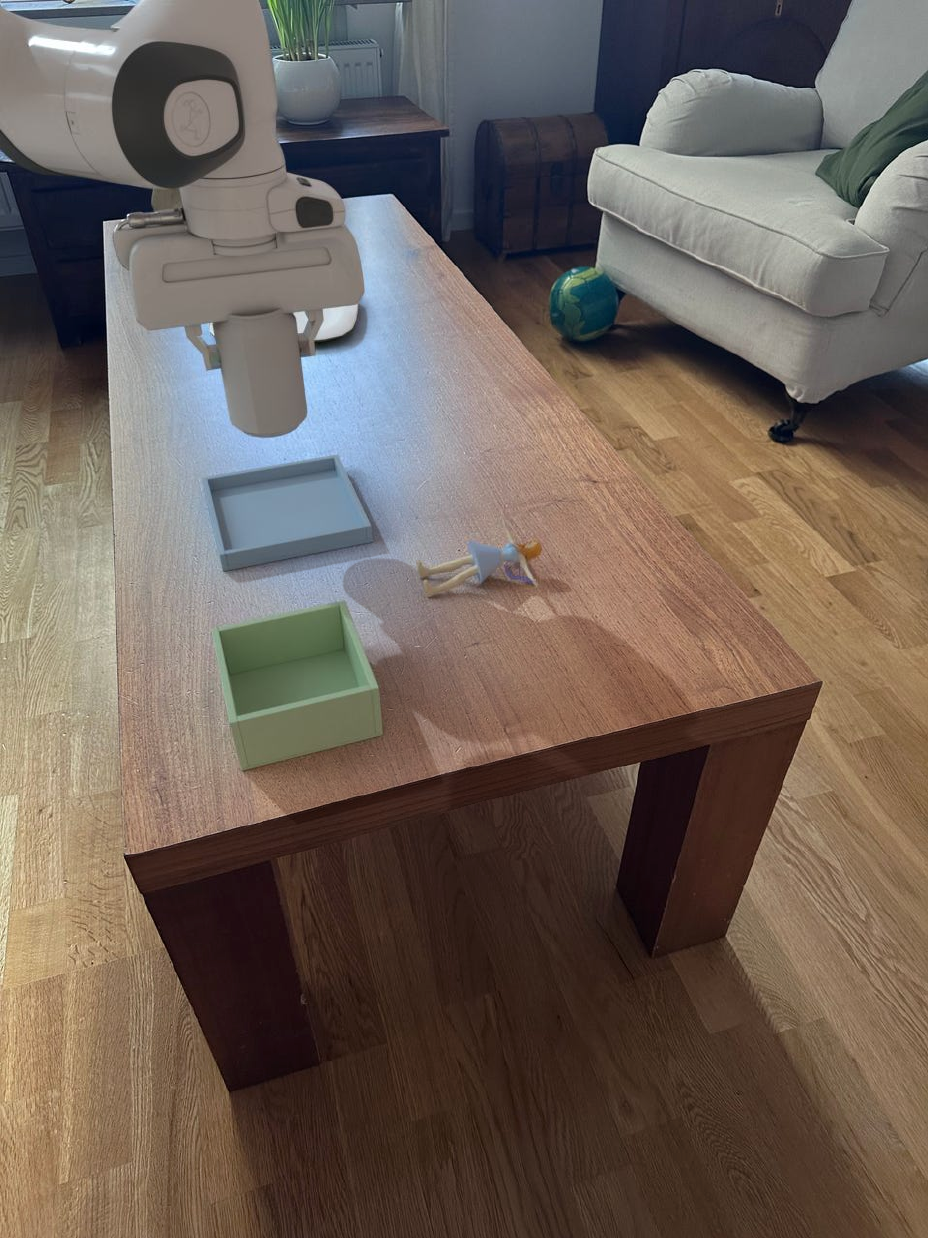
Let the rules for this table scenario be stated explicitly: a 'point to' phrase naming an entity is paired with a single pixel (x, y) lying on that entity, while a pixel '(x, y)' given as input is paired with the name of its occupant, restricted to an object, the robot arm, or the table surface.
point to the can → (262, 373)
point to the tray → (284, 512)
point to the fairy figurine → (483, 563)
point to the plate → (327, 322)
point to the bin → (296, 684)
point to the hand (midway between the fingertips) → (261, 360)
